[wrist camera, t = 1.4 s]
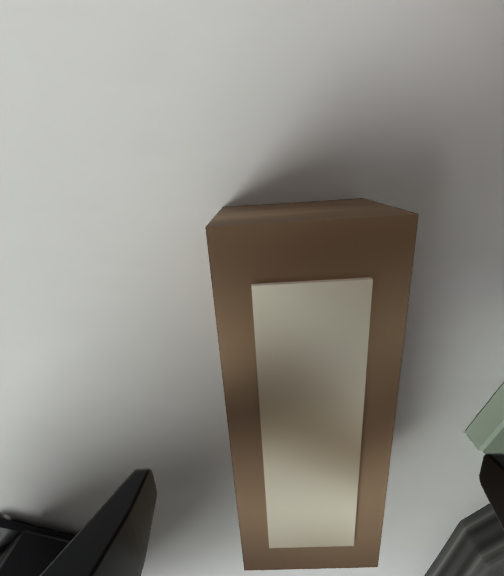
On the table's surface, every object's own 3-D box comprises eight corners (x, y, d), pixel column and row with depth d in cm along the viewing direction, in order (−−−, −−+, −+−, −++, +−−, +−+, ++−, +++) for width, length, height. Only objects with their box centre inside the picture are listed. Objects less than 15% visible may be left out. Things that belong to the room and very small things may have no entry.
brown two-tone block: (346, 463, 16) (379, 571, 12) (247, 467, 16) (244, 575, 12) (360, 197, 12) (421, 215, 7) (223, 206, 12) (204, 228, 8)
